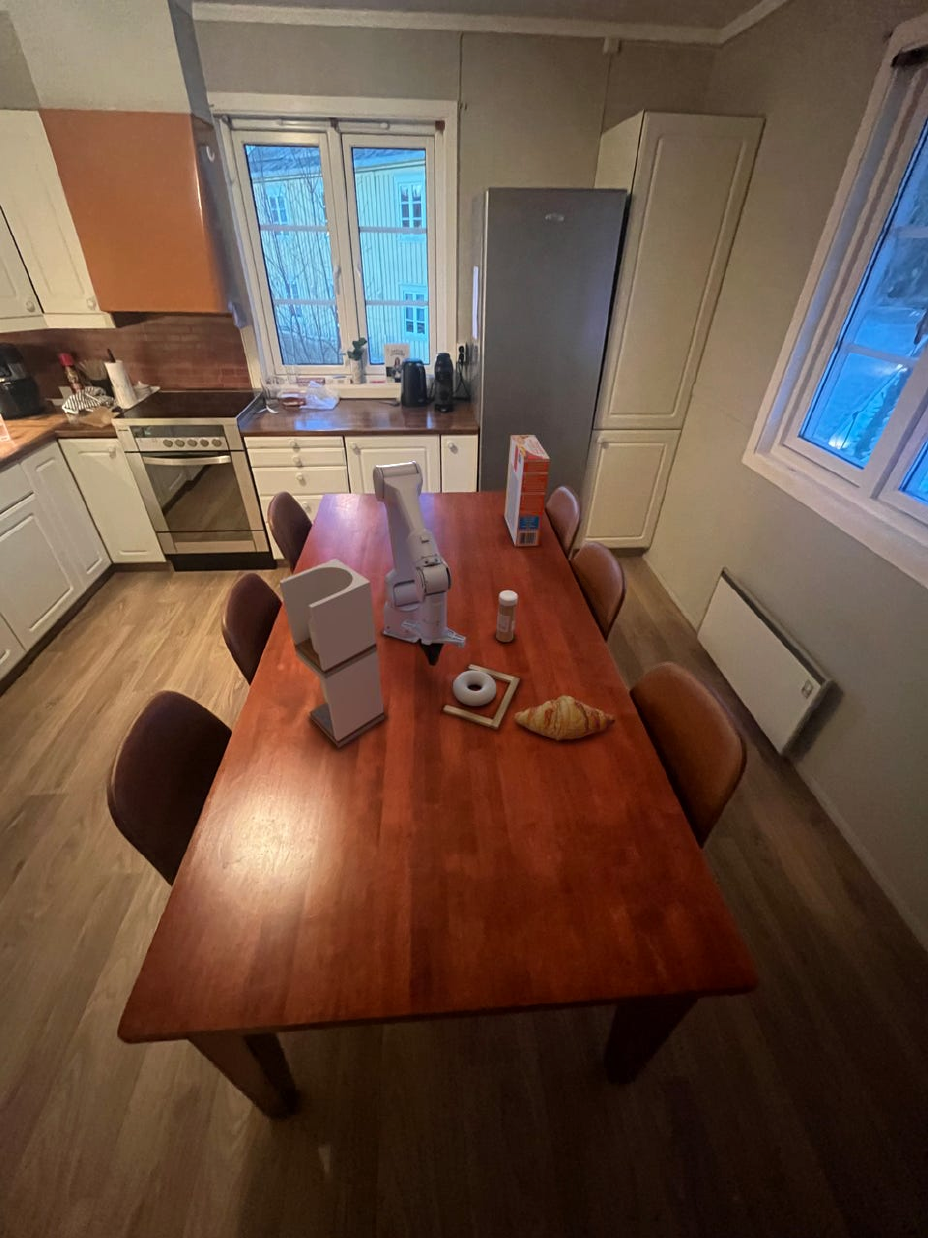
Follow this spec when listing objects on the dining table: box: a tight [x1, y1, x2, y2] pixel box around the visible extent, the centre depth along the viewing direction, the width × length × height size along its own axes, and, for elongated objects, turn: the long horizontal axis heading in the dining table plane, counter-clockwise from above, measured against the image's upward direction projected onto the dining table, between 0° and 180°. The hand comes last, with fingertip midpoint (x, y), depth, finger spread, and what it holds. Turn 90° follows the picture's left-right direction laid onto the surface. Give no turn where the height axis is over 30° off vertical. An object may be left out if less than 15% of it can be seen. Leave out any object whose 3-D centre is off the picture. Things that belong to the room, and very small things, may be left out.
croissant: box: [514, 694, 616, 742], centre depth 106 cm, size 21×10×8 cm, turn 90°
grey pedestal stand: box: [278, 558, 385, 748], centre depth 97 cm, size 11×11×35 cm
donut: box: [452, 670, 497, 707], centre depth 114 cm, size 10×4×10 cm
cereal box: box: [503, 434, 551, 547], centre depth 170 cm, size 23×8×30 cm, turn 6°
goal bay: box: [442, 663, 521, 730], centre depth 114 cm, size 12×16×1 cm
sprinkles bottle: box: [495, 589, 519, 643], centre depth 127 cm, size 5×5×13 cm
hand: (433, 662), depth 114 cm, fingers closed
